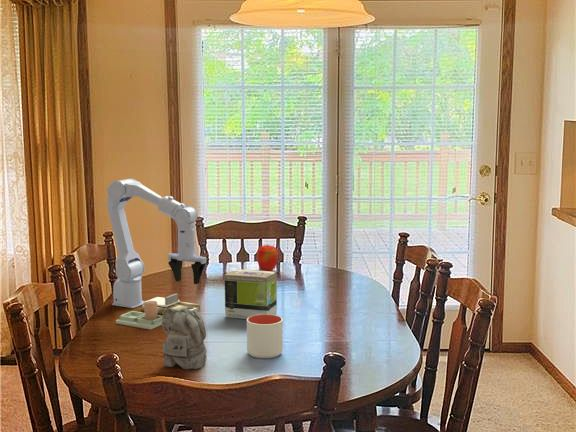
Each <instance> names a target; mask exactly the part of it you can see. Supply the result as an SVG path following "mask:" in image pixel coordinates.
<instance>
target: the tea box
mask: <svg viewBox="0 0 576 432" xmlns="http://www.w3.org/2000/svg"><path fill="white" fill-rule="evenodd" d="M277 295H278V292H277V271H273V270H272V271H263V270H255V269H242V268H241V269H240V268H235V269H233V270H232V271H229V272H228V273H226V274H224V310H225V312H224V313H225V314H224V315H225V318H231V319H242V320H243V319H244V320H247V318H249V317H251V316H254V315H260V314H270V315H276V316H277V311H278V310H277V309H278V307H277V305H278V304H277V303H278V302H277V301H278V300H277V299H278V298H277Z"/></svg>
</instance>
